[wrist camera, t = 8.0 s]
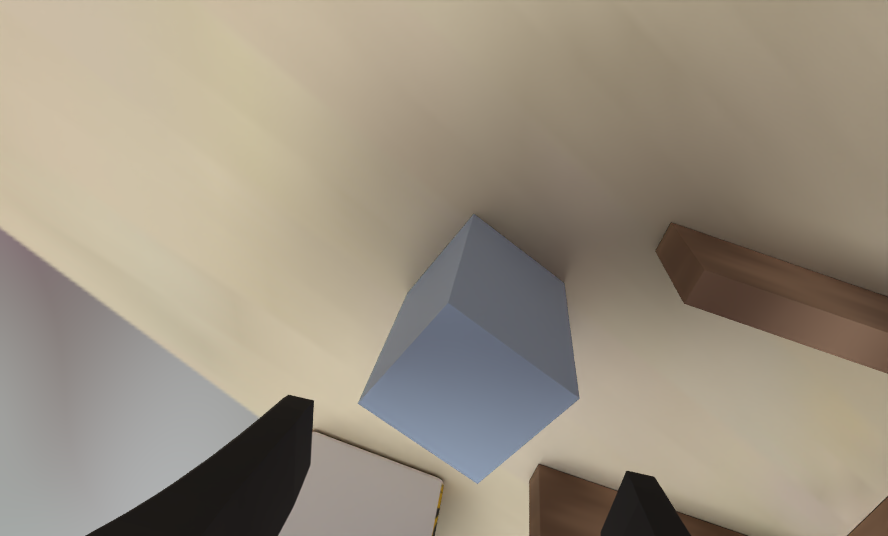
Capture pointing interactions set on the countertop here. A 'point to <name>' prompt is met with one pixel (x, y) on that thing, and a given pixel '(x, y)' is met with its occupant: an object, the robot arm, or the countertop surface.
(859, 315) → the walnut bay
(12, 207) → the countertop surface
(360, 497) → the medicine bottle
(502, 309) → the blue block
